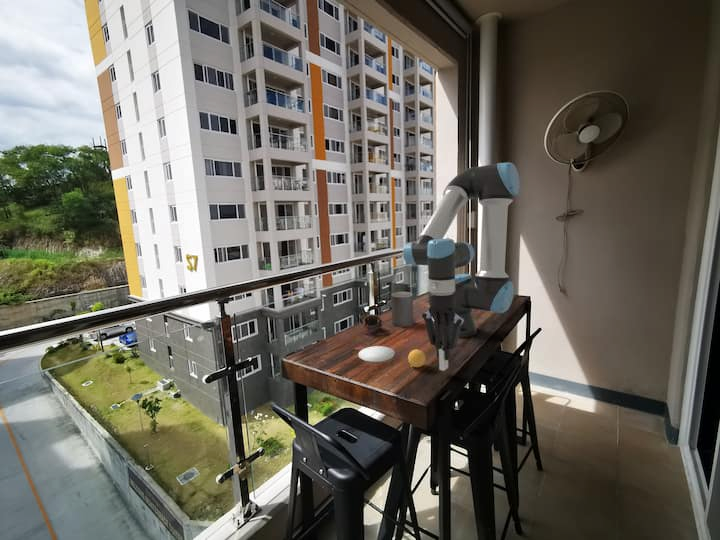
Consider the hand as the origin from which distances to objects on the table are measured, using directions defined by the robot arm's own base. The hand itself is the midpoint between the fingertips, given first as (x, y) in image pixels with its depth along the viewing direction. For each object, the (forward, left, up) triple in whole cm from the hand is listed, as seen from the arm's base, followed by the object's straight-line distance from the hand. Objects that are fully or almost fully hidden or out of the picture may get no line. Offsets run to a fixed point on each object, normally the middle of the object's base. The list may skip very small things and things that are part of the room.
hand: (443, 368), depth 98 cm
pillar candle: (-32, -38, -2) cm, 49 cm away
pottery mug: (-17, -44, -2) cm, 47 cm away
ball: (0, -10, +1) cm, 10 cm away
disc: (0, -26, -2) cm, 27 cm away
